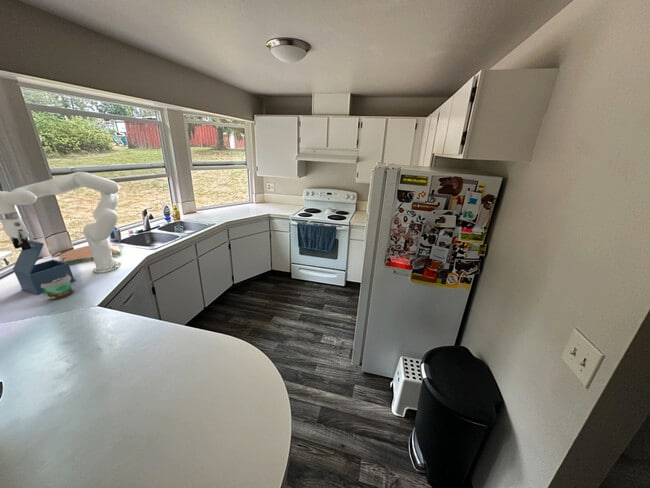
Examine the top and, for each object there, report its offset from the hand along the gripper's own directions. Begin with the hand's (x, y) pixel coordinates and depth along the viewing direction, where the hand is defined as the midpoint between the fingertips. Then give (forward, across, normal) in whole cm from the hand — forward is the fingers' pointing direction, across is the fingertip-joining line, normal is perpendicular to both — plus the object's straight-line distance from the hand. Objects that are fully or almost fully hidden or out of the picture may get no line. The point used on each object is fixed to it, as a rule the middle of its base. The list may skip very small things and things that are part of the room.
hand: (23, 248), depth 134 cm
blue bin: (+25, 0, -4) cm, 25 cm away
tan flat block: (+25, +25, -40) cm, 54 cm away
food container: (+25, -22, 0) cm, 33 cm away
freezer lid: (+5, 0, -1) cm, 5 cm away
